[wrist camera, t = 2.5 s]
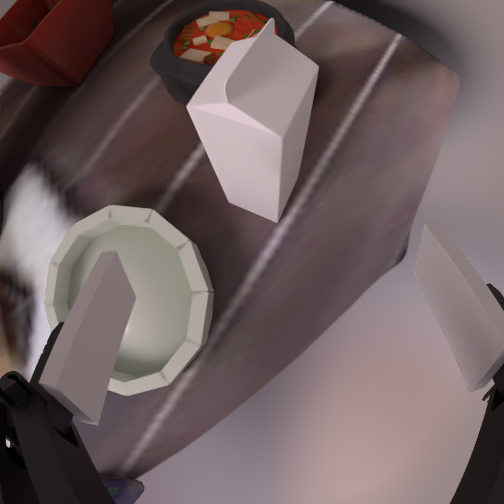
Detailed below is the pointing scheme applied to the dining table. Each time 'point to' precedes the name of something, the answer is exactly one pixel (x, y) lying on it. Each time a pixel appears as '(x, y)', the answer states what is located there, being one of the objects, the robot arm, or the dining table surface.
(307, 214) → the dining table surface
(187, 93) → the casserole
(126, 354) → the bowl
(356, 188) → the dining table surface
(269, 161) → the milk
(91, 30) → the plant pot
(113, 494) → the flask
